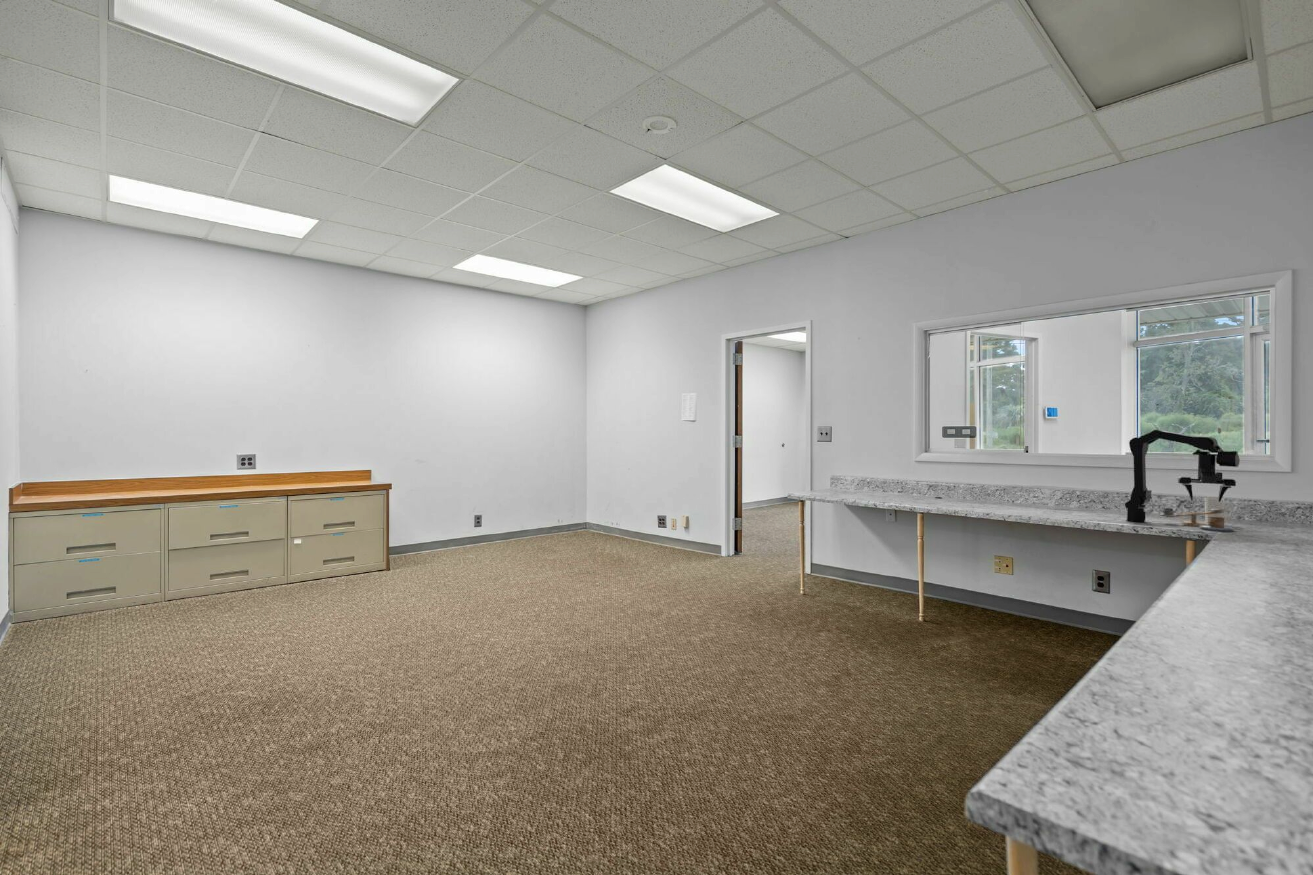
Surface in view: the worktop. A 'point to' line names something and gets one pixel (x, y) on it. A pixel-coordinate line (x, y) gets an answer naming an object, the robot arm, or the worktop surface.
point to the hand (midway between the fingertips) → (1205, 500)
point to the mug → (1215, 504)
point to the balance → (1169, 513)
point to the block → (1216, 521)
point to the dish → (1216, 528)
